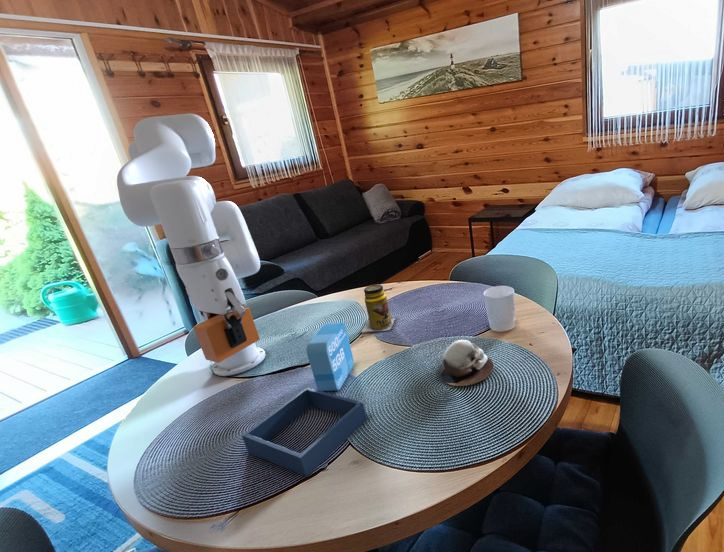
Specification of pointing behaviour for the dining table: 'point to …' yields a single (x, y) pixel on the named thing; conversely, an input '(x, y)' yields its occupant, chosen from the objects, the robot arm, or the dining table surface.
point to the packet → (223, 337)
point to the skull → (465, 364)
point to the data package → (330, 356)
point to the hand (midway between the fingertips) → (231, 341)
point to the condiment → (377, 309)
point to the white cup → (500, 307)
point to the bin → (321, 447)
